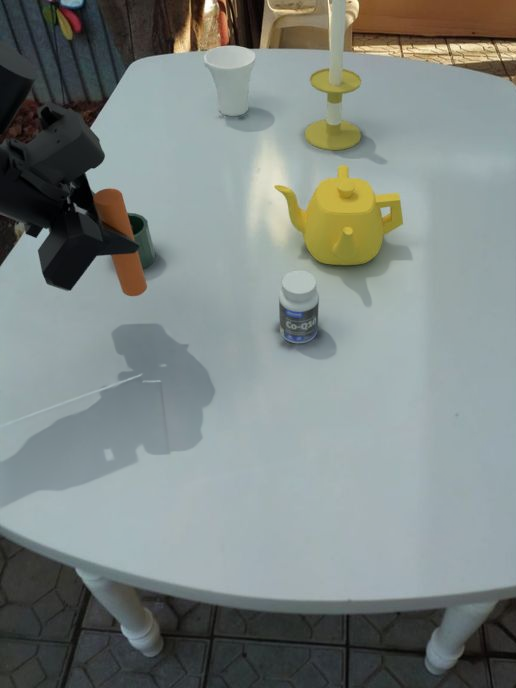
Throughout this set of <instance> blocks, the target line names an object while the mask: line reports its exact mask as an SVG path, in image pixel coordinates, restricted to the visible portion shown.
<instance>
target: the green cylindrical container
mask: <svg viewBox="0 0 516 688" xmlns="http://www.w3.org/2000/svg"><path fill="white" fill-rule="evenodd" d="M127 214H128V218H129V221H130V225H131V226H132V227H133V231H132V232H133V236H134V240H135V242H137V243H138V244H139V246H140V247H139V249H138V250H137V251H138V254H139V258H140V262H141V265H142V269H143V270H145V269H146V268H148V267H149V266H151V265H152V264H153V263H154V261H155V259H156V252H155V248H154V244H153V240H152V235H151V231H150V227H149V223H148V220H147V219H146V217H144V216H143V215H141V214H139V213H136V212H134V213H133V212H127Z"/></svg>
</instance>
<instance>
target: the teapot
mask: <svg viewBox="0 0 516 688" xmlns="http://www.w3.org/2000/svg"><path fill="white" fill-rule="evenodd" d="M349 169H350V168H349V167H348V166H347V165H345V164H340V165H339V166H338V167H337V176H336V177H329V178H325V179H323V180H321V181H320V182H319V184H318V185H317V187H316V188H315V190H314V192H313V193H312V195H311V197H310V200H309V202H308V204H307V207H306V209H305V210H303V209H302V208H301V207H300V205H299V204H298V199H297V196H296V193H295V191H293V189H291V188H290V187H287V186H284V185H281V184H275V185H274V189H275V190H276V191H278V192H279V193H281V194H282V195H283V196H284V198H285V200H286V203H287V207H288V208H287V210H288V216H289V220H290V222H291V224H292V226H293V227H294V229H296V230H297V231H298V232H299V233H301V234H302V237H303V241H304V244H305V246H306V248H307V250H308V252H309V253H310V254H311V256H312V258H314V259H315V260H316V261H317V262H319V263H321V264H325V265H333V266H357V265H358V266H359V265H363V264H366V263H368V262H370V261H371V260H373V259H374V258H375V257H376V256H377V254H378V253H379V252H380V249H381V247H382V245H383V241H384V236H385V235H387V234H388V233H390V232H392V231H394V230H396V229H397V228H400V227H401V226H402V225H404V220H403V211H402V203H401V198H400V194H399V192H392V193H391V192H390V193H380V194H375V192H374V190H373V188H372V186H371V184H370V183H369V182H368V181H366V180H365V179H362V178H357V177H350V173H349V171H350V170H349ZM388 207H389V213H388V214H386V215H384V216H383V214H382V210H381V209H384V208H388Z"/></svg>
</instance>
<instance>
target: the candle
mask: <svg viewBox="0 0 516 688" xmlns="http://www.w3.org/2000/svg"><path fill="white" fill-rule="evenodd" d="M346 13H347V0H331V18H330V19H331V21H330V45H329V46H330V47H329V68H327V67H325V68H322V69H318V70H316V71H315V72H313V73H312V74H311V75H310V77H309V82H310V85H311V87H312V88H314V89H315V90H316V91H319V92H322V93H325V94H327V95H326V119H321V120H318V121H315V122H312V123H311V124H309V125H308V126H307V127H306V130H305V131H304V137H305V139H306V141H307V142H308V143H310V144H311V146H314V147H316V148H319V149H321V150H326V151H343V150H348V149H350V148H353V147H355V146H356V145H357V144H359V142H360V141H361V137H362V133H361V131H360V129H359V128H358V127H357V126H356V125H354V124H353V123H351V122H348V121H346V120H342V109H343V108H342V107H343V95H345V94H349V93H353V92H355V91H356V90H358V89H359V88H360V86H361V84H362V79H361V77H360V75H359V74H357V73H355V72H354V71H352V70H350V69H347V68H343V67H344V53H345V51H344V49H345V33H346V15H347V14H346Z"/></svg>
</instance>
